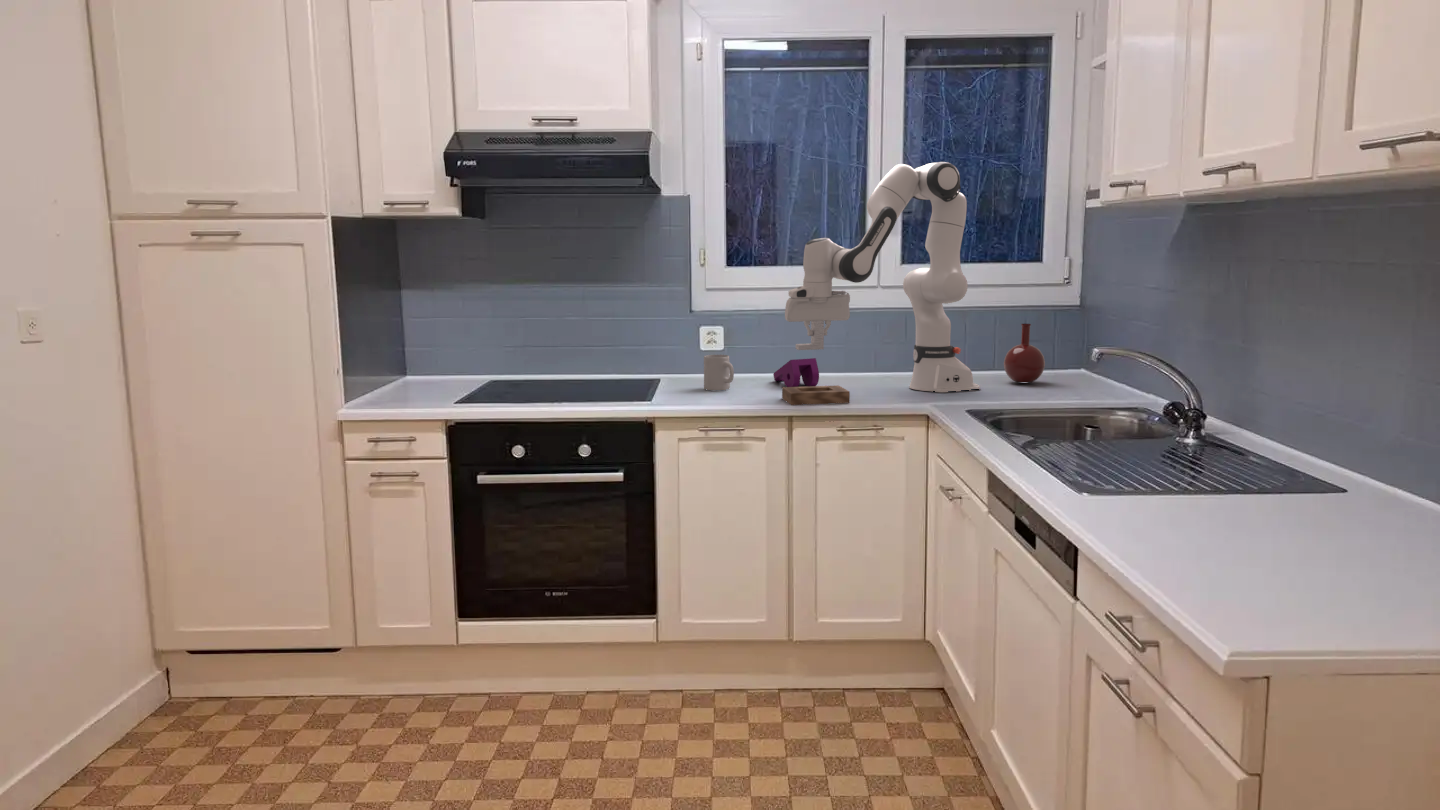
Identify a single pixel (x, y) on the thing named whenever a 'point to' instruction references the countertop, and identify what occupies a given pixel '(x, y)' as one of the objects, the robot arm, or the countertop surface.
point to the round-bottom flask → (1024, 360)
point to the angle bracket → (814, 337)
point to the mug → (717, 372)
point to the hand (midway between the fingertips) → (817, 335)
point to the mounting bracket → (798, 372)
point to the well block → (815, 395)
